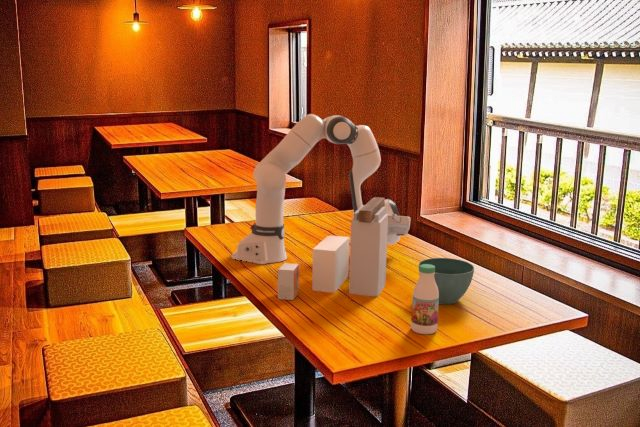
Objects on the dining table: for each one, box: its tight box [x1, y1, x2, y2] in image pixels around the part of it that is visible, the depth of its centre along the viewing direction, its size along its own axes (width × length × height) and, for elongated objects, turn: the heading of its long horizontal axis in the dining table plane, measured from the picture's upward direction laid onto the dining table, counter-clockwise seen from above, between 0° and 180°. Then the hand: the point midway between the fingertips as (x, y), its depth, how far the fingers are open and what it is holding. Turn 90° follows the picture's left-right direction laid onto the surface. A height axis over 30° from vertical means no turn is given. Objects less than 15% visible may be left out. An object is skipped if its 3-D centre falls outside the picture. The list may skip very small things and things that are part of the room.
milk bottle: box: [410, 264, 439, 335], centre depth 195 cm, size 8×8×20 cm
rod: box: [359, 196, 386, 223], centre depth 230 cm, size 4×24×4 cm, turn 164°
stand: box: [348, 204, 388, 298], centre depth 230 cm, size 10×14×28 cm
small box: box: [277, 262, 300, 301], centre depth 223 cm, size 8×6×10 cm
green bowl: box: [418, 257, 475, 305], centre depth 221 cm, size 18×18×12 cm
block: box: [311, 234, 350, 294], centre depth 237 cm, size 8×20×15 cm, turn 164°
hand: (381, 214), depth 248 cm, fingers open, 8 cm apart
